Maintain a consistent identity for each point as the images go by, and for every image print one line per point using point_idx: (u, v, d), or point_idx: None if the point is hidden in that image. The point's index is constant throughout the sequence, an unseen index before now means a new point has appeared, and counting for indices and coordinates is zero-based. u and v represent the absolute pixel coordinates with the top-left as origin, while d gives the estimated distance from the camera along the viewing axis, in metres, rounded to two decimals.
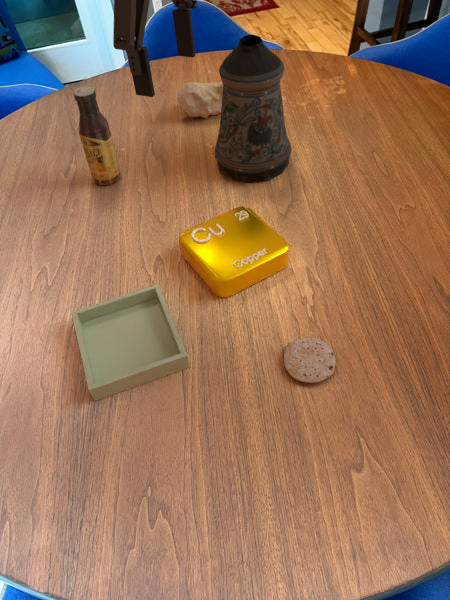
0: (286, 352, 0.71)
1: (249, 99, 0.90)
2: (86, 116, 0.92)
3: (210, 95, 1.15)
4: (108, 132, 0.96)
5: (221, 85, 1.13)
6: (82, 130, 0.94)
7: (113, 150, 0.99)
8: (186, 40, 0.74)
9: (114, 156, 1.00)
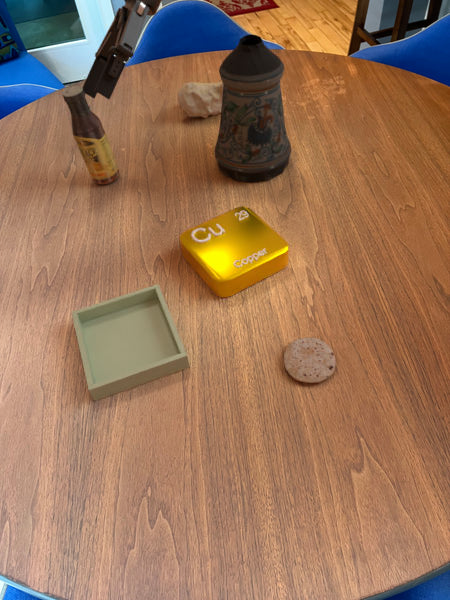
0: (286, 352, 0.71)
1: (250, 99, 0.90)
2: (77, 116, 0.92)
3: (210, 95, 1.15)
4: (101, 130, 0.96)
5: (221, 85, 1.13)
6: (75, 130, 0.94)
7: (108, 148, 0.99)
8: (95, 84, 0.93)
9: (110, 154, 1.00)
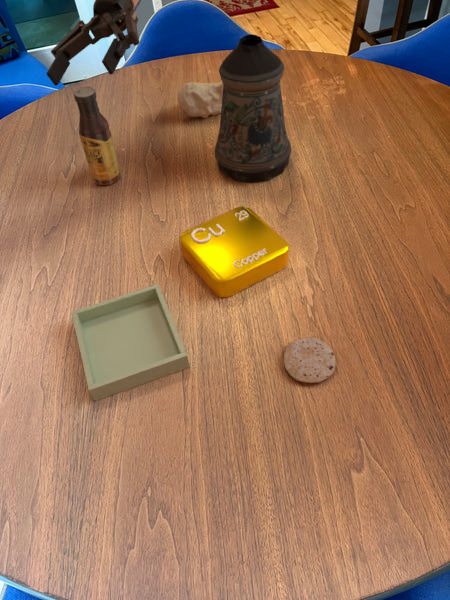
0: (286, 352, 0.71)
1: (249, 99, 0.90)
2: (86, 117, 0.92)
3: (210, 95, 1.15)
4: (108, 133, 0.96)
5: (221, 85, 1.13)
6: (82, 130, 0.94)
7: (113, 150, 0.99)
8: (59, 72, 0.95)
9: (114, 157, 1.00)
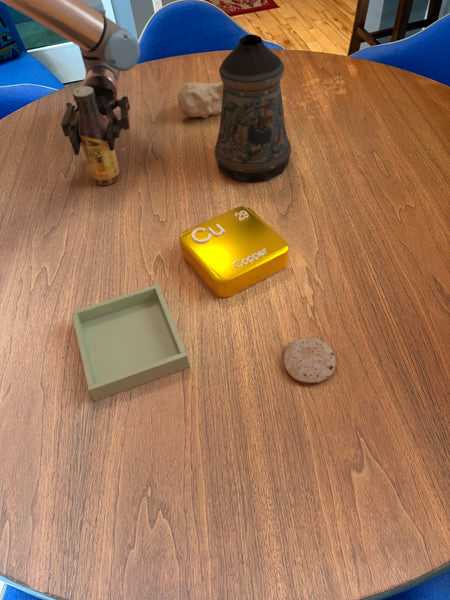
0: (286, 352, 0.71)
1: (249, 99, 0.90)
2: (85, 116, 0.92)
3: (210, 95, 1.15)
4: None
5: (221, 85, 1.13)
6: (81, 130, 0.94)
7: (113, 150, 0.99)
8: (78, 143, 0.96)
9: (113, 156, 1.00)
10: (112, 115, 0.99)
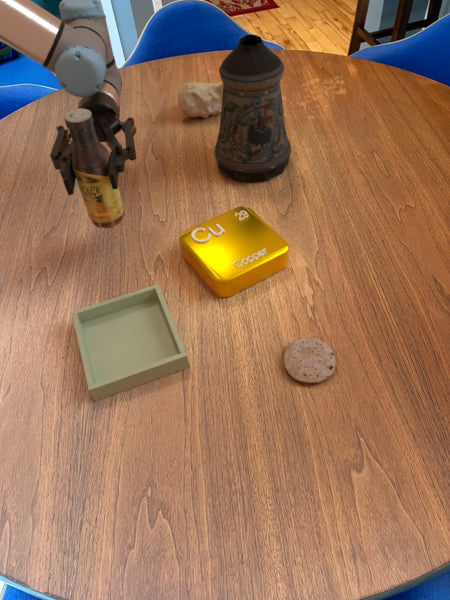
0: (286, 352, 0.71)
1: (249, 99, 0.90)
2: (80, 147, 0.72)
3: (210, 95, 1.15)
4: None
5: (221, 85, 1.13)
6: (76, 163, 0.74)
7: None
8: (72, 180, 0.75)
9: (116, 194, 0.80)
10: (115, 143, 0.79)
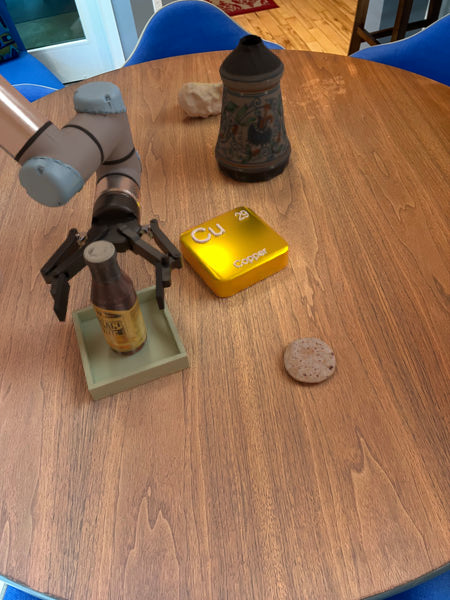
0: (286, 352, 0.71)
1: (249, 99, 0.90)
2: (101, 284, 0.62)
3: (210, 95, 1.15)
4: (133, 297, 0.66)
5: (221, 85, 1.13)
6: (96, 299, 0.64)
7: (139, 315, 0.69)
8: (65, 303, 0.66)
9: (140, 322, 0.70)
10: (155, 252, 0.69)
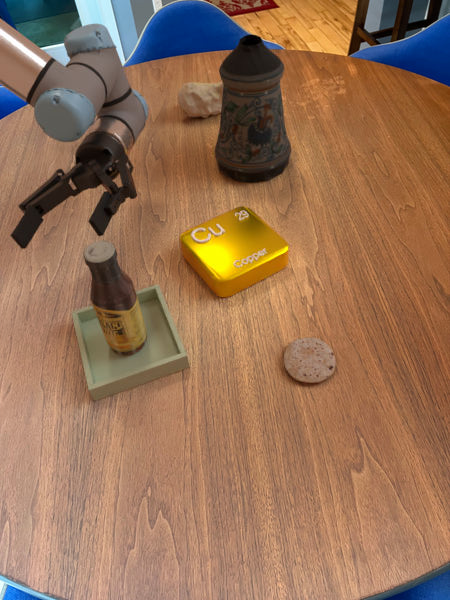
0: (286, 352, 0.71)
1: (250, 99, 0.90)
2: (101, 284, 0.62)
3: (210, 95, 1.15)
4: (133, 297, 0.66)
5: (221, 85, 1.13)
6: (96, 299, 0.64)
7: (139, 315, 0.69)
8: (29, 232, 0.72)
9: (140, 322, 0.70)
10: (109, 182, 0.70)
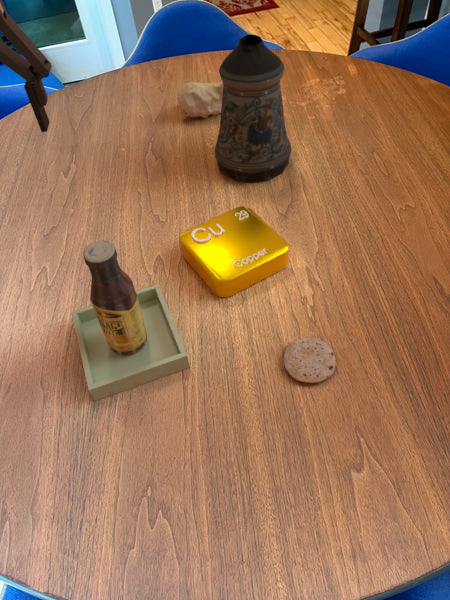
0: (286, 352, 0.71)
1: (250, 99, 0.90)
2: (101, 284, 0.62)
3: (210, 95, 1.15)
4: (133, 297, 0.66)
5: (221, 85, 1.13)
6: (96, 299, 0.64)
7: (139, 315, 0.69)
8: None
9: (140, 322, 0.70)
10: None
